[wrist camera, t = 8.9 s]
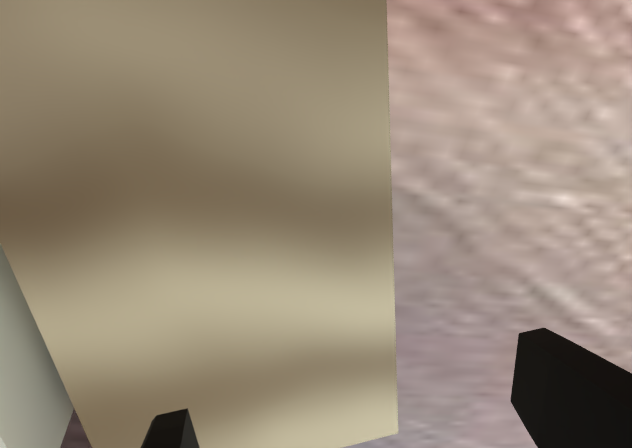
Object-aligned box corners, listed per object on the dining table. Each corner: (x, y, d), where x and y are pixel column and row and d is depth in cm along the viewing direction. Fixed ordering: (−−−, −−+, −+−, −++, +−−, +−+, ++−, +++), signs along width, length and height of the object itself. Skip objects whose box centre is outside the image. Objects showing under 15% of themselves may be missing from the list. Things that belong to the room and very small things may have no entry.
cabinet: (356, 340, 23) (398, 433, 18) (38, 410, 20) (-19, 538, 15) (317, -194, 14) (377, -313, 9) (-250, -169, 12) (-595, -307, 7)
